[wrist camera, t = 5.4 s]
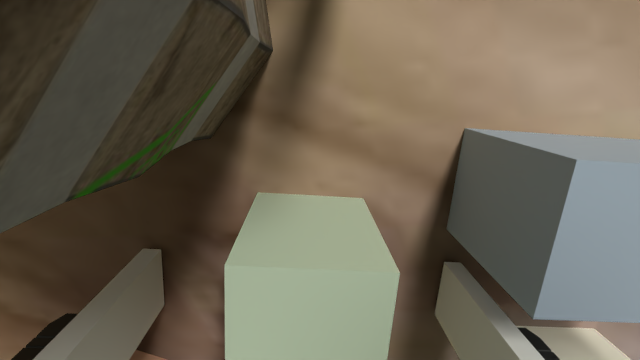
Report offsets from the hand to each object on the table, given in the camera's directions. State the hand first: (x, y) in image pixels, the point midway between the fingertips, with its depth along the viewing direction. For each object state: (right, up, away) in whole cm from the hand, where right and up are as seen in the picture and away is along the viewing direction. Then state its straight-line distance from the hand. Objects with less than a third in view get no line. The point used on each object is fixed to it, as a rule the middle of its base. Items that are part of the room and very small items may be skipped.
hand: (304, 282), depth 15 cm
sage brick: (0, 0, 0) cm, 0 cm away
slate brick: (+10, +4, -1) cm, 11 cm away
